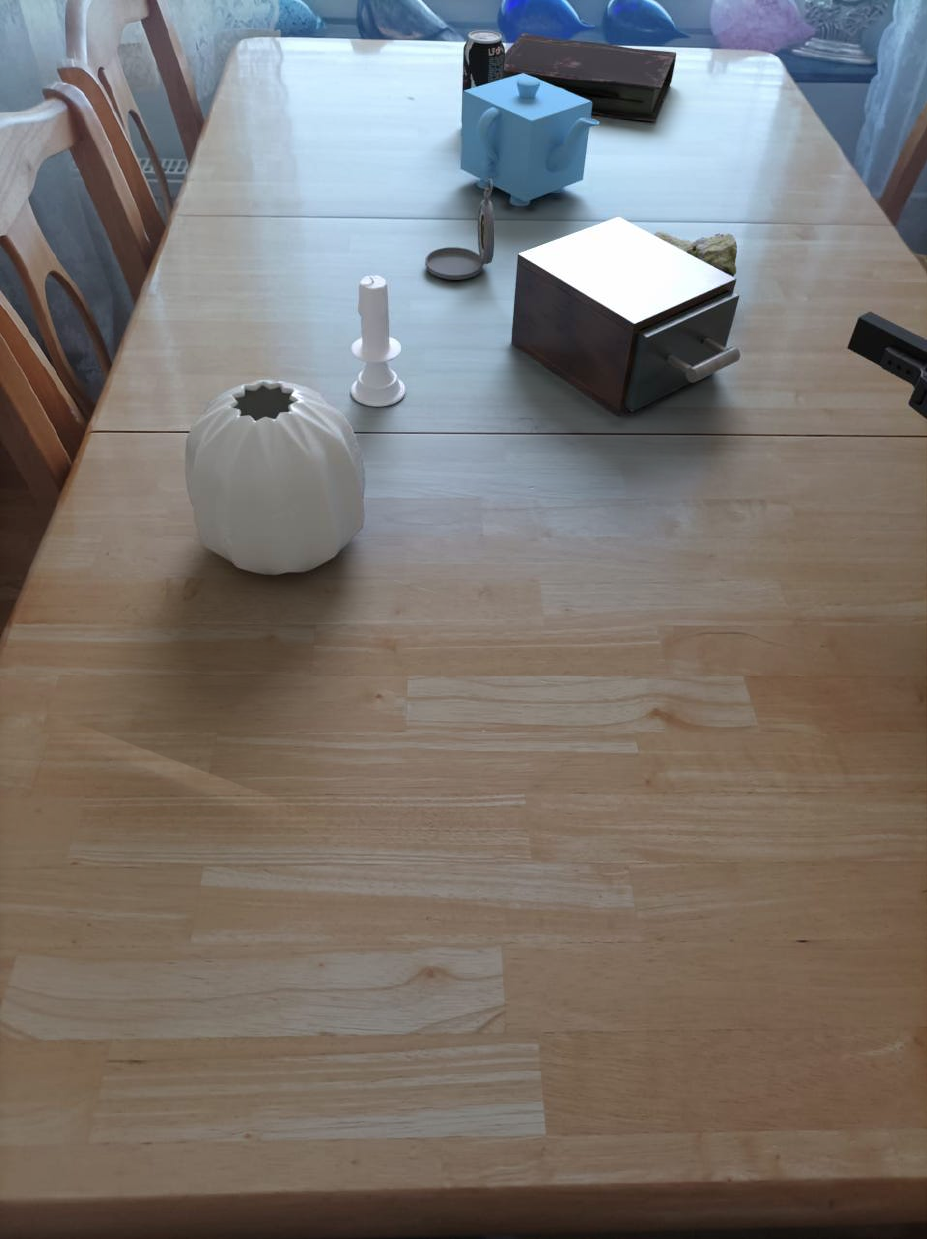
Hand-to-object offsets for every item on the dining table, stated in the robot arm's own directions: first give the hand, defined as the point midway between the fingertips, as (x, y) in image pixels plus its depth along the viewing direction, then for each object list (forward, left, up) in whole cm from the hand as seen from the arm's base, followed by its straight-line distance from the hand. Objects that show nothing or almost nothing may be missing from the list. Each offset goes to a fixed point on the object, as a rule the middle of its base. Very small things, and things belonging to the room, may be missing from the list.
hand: (858, 330), depth 73 cm
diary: (+35, -88, -15) cm, 95 cm away
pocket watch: (+39, -28, -15) cm, 50 cm away
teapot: (+35, -50, -15) cm, 62 cm away
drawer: (+17, -12, -14) cm, 25 cm away
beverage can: (+47, -69, -15) cm, 84 cm away
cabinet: (+20, -15, -15) cm, 29 cm away
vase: (+42, +20, -15) cm, 49 cm away
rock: (+14, -34, -15) cm, 39 cm away
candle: (+41, -2, -15) cm, 43 cm away
